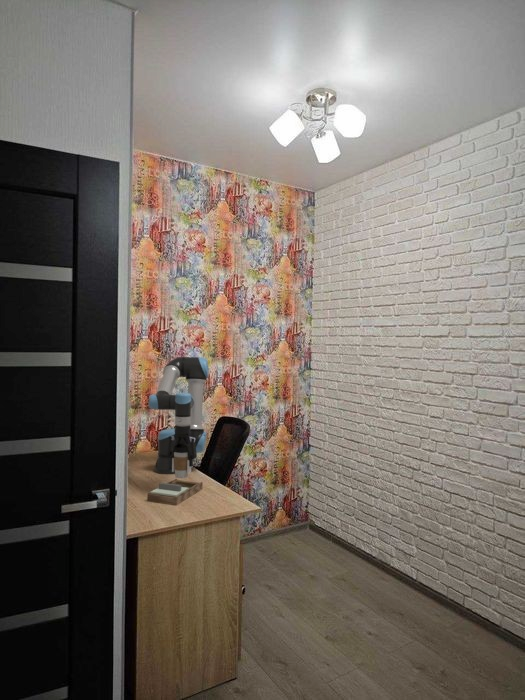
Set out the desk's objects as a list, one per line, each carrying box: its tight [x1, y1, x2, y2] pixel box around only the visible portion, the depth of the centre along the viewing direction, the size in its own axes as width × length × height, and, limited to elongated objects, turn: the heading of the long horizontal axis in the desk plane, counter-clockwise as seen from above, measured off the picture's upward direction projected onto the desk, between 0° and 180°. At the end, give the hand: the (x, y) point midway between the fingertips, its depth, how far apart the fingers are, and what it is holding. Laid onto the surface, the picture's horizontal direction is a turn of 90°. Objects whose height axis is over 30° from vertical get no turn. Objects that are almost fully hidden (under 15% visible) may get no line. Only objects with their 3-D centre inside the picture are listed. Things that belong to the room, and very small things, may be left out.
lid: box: [150, 482, 189, 497], centre depth 223 cm, size 12×13×3 cm
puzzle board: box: [146, 478, 204, 506], centre depth 229 cm, size 26×15×4 cm, turn 161°
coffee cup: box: [173, 444, 190, 479], centre depth 234 cm, size 8×8×15 cm
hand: (181, 472), depth 234 cm, fingers closed on coffee cup, 7 cm apart
